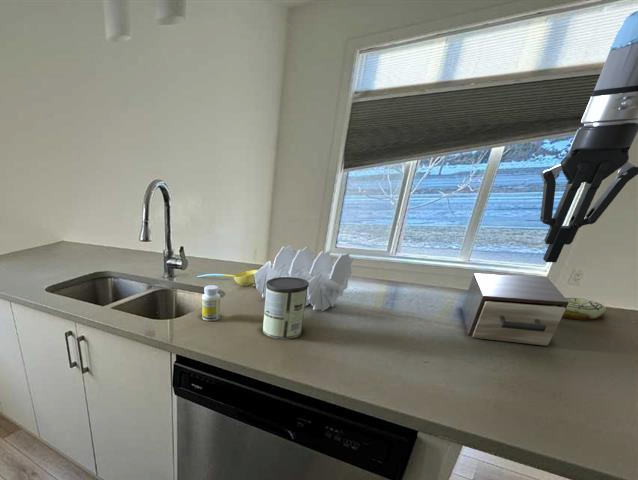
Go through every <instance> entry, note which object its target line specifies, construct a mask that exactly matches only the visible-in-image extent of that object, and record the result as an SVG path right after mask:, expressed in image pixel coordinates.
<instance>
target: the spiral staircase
mask: <svg viewBox="0 0 638 480" xmlns="http://www.w3.org/2000/svg"><path fill="white" fill-rule="evenodd" d="M292 247H293V246H292V244H289V245H287V246H282V247H281V248H280V250H279V251H278V253H277V254H276V255H275V256H274V261H273V264H272V263H271V260H268V261H267V262H265V263H264V264H263V265H262V266H261V267H259V268H258V269H257V270H258V271H256V272H255V273H254V277H255V282H254V284H255V285H256V286H255V289H256V290H257V291H258V293H260V295H261V298H266V287H267V286H266V282H267V281H268V280H270V279H274V278H280V277H294V278H300V279H304V280H306V281H308V282H309V286H308V289H307V296H306V303H305V307H306V306H308V305H311V306H312V311H313V310H314V311H315V310H316V311H319V310H321V311H325V310H326V311H327V310H328V309H329V308H330V307H331V308H333V307H335V304H336V302H337V300H338V298H339V297H342V296H343V294H344V291H345V290H347V289H348V285H349V278H350V277H351V275H352V274H353V270H352V263H353V260H354V259H353V258H351V257H350V252H349V251H348V252H346V253H344V254H343V253H340V255H339V256H338V258H337V259H336V260H335V262H334V263H333V261H334V257H332V256H331V255H330V253H331V251H330V250H326V251H324V250H321V251H320V252H319V254H318V255H317V256H316V258H315V259H313V254H314V251H312V250H309V246H305V247H304V248H303V249H298V250H295V249H293V248H292ZM332 264H333V265H332Z"/></svg>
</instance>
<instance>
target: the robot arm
mask: <svg viewBox="0 0 638 480" xmlns="http://www.w3.org/2000/svg"><path fill="white" fill-rule="evenodd" d="M605 59H606V60H605V62H604V64H603V67H602V70H601V72H600V74H599V77H598V79H597V81H596V85H595V87H594V89H593V92H592V95H591V96H590V99H589V101H588V104H587V106H586V107H585V108H586V109H585V111H584V113H583V116H582V118H581V121H580V123H581V124H583V126H581V127H579V129H577V130H576V133H575V135H574V138H573V139H572V142H571V145H570V146H569V150H568V152H567V154H566V155H565V157H563V159H561V161H560V162H559V164H557V165H555V166H553V167H551V168H550V169H544V170H542V171H541V172H540V178H541V180H542V182H543V189H542V197H541V198H542V199H541V208H540V219H539V220H540V222H541V223H542V224H544V225H547V226H549V228H548V230H547V233H546V235H545V238H544V244H545V245H548V246H547V248H546V251H545V252H544V253H545V254H544V256H543V258H542V259H543V261H544V262H545V263H557V262H558V259H559V257H560V255H561V253H562V250H563V248H564V246H565V245H571V244H572V243H573V241H574V239H575V237H576V235H577V233H578V231H579V229H580V228H582V227H583V226H588V225H594V224H595V223H596V222H597V221H598V220H599V219H600V217H601V216H602V215H603V213H605V211H606V210H607V208H608V207H609V206H610V205H611V204H612V202H613V201H614V200H615V198H616V197H617V196H618V195H619V193H620V192H621V191H622V189H623V188H624V187H625V186H626V184H628V183H629V182H630V181H631V180H633V179H634V178H635V177H637V176H638V166H636V165H634V164H633V163H631V162H629V160H630V154H629V151H630V149H631V146H632V145H633V142H634V140H635V138H636V136H637V134H638V10H636V11H633V12H632V13H630V14H629V15H628V16H627V17H626V18H625V19H624V20H623V22H622V24H621V26H620V28H619V30H618V31H617V34H616V35H615V38H614V40H613V41H612V44H611V46H610V47H609V49H608V55H607V57H606V58H605ZM561 171H562V173H563V175H564V177H565V180H566V181H567V182H566V184H565V188H564V191H563V194H562V196H561V198H560V201H559V202H558V205H557V207H556V209H555V212H554V204H555V196H556V195H555V194H556V187H557V186H556V185H557V181H556V179H558V178H559V177H560V173H561ZM616 171H617V172H616ZM615 172H616V177H615V178H614V179H613V180H612V181H611V183H610V184H609V185H608V186H607V188H606V189H605V190H604V191H603V193H602V194H601V195H600V196H599V197H598V199H597V200H596V202H594V204H593V205H592V207H591V204H592V202H593V200H594V198H595V195H596V194H597V191H598V189H599V188H600V187H601V185H602V182H603V181H604V180H605V179H607V178H608V177H610V176H611V175H613V174H614V173H615ZM582 183H583V184H584V186H583V190H582V192H581V195H580V197H579V198H578V201H577V204H576V206H575V207H574V210H573V212H572V215H571V217H570V219H569V221H568V225H564V223H565V220H566V218H567V217H568V216H567V215H568V213H569V212H570V208H571V206H572V204H573V202H574V200H575V197H576V195H577V192H578V190H579V189H580V188H581V186H582ZM590 207H591V208H590ZM589 209H590V210H589ZM553 213H554V215H553Z"/></svg>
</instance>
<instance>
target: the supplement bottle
mask: <svg viewBox="0 0 638 480" xmlns="http://www.w3.org/2000/svg"><path fill="white" fill-rule="evenodd" d="M203 289H204V291H203V292H204V293H203V294H202V296H201V319H202V320H204V321H207V322H214V321H215V322H216V321H218V320H219V319H220V317H221V294H220V293H218V292H219V287H218V285H214V284H213V285H212V284H211V285H206V286H204V288H203Z"/></svg>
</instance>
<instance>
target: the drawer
mask: <svg viewBox="0 0 638 480" xmlns="http://www.w3.org/2000/svg"><path fill="white" fill-rule="evenodd" d="M565 310H566V309H565V307H558V305H553V304H540V303H527V302H514V301H500V300H487V299H486V301H485V304H484V306H483V309H482V311H481V314H480V317H479V319H478V322H477V325H476V327H475V330H474V332H473V335H472V336H471V337H472V338H474V339H482V340H483V339H484V340H494V341H501V342H510V343H518V344H519V343H520V344H527V345H537V346H547V347H548V346H549V345H550V342H551V341H552V338H553V336H554V334H555V333H556V330H557V328H558V326H559V324H560V322H561V320H562V318H563V317H562V316H563V314H564V312H565Z"/></svg>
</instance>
